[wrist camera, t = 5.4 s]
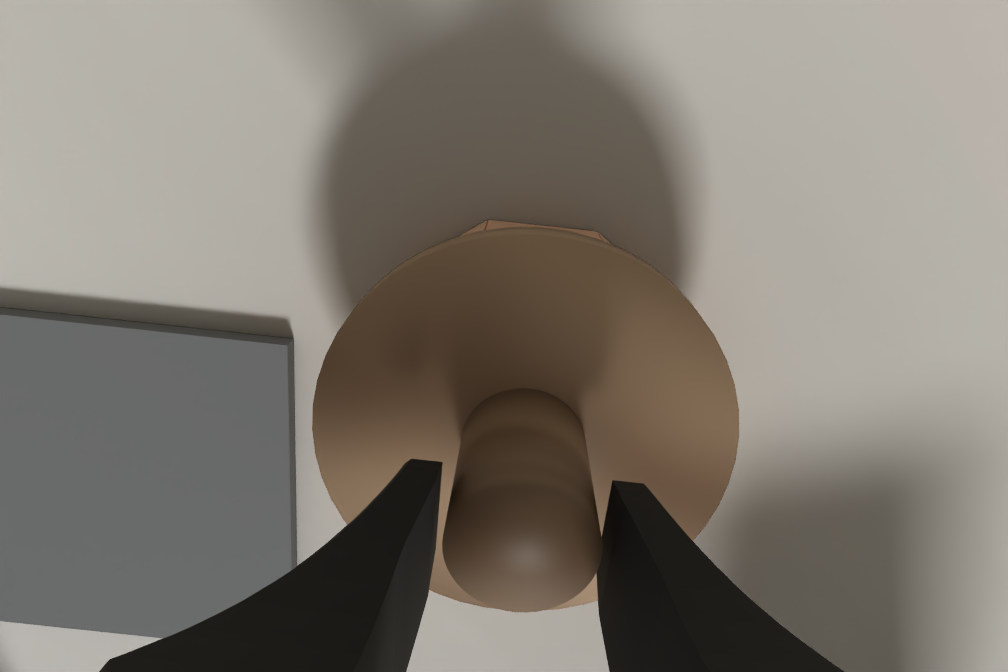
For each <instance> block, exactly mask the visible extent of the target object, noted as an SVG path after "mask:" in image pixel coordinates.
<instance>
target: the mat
mask: <svg viewBox="0 0 1008 672" xmlns="http://www.w3.org/2000/svg"><path fill="white" fill-rule="evenodd" d="M296 566H297V536H296V467H295V399H294V339H290V338H280V337H271V336H262V335H252V334H243V333H234V332H225V331H215V330H206V329H197V328H187V327H178V326H169V325H160V324H150V323H141V322H132V321H123V320H113V319H104V318H95V317H85V316H76V315H67V314H58V313H48V312H39V311H30V310H20V309H11V308H2V307H0V621H5V622H15V623H24V624H34V625H43V626H53V627H62V628H72V629H81V630H90V631H100V632H109V633H119V634H128V635H138V636H147V637H157V638H166V637H168V636H171V635H173V634H176V633H178V632H180V631H182V630H185V629H187V628H189V627H191V626H193V625H195V624H197V623H200V622H202V621H204V620H206V619H208V618H210V617H212V616H214V615H216V614H218V613H220V612H222V611H224V610H226V609H228V608H230V607H231V606H233V605H235V604H237V603H239V602H241V601H243V600H245V599H246V598H248V597H250V596H251V595H253V594H254V593H256V592H258V591H259V590H261V589H263V588H264V587H266V586H268V585H269V584H271V583H273V582H274V581H276V580H277V579H279V578H281V577H282V576H284V575H285V574H287V573H288V572H290V571H291V570H292V569H294V568H295V567H296Z"/></svg>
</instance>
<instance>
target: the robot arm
mask: <svg viewBox="0 0 1008 672" xmlns="http://www.w3.org/2000/svg"><path fill="white" fill-rule="evenodd" d="M442 464H443V462H439V461H429V460H420V459H410V460H409V461H407V462H406V463H405V464H404V465H403V466H402V468H401V469H400V470H399V471H398V473H397V474H396V475H395V476H394V477H393V479H392V480H391V481H390V482H389V483H388V484H387V485H386V487H385V488H384V489H383V490H382V491H381V492H380V493H379V494H378V495H377V496H376V497H375V498H374V499H373V500H372V501H371V502H370V503H369V505H368V506H367V507H366V508H365V509H364V510H363V511H362V512H361V513H360V514H359V515H358V516H357V517H356V518H354V519H353V520H352V521H351V522H350V523H349V524H348V525H347V526H346V527H344V528H343V529H342V530H341V531H340V532H339V533H338V534H337V535H335V536H334V537H333V538H332V539H331V540H330V541H329V542H328V543H326V544H325V545H324V546H323V547H321V548H320V549H319V550H318V551H316V552H315V553H314V554H313V555H311V556H310V557H309V558H307V559H306V560H305V561H303V562H302V563H301V564H299V565H298V566H296V567H295V568H294V569H292V570H291V571H290V572H288V573H287V574H285V575H284V576H282V577H281V578H279V579H277V580H276V581H274V582H273V583H271V584H269V585H268V586H266V587H264V588H263V589H261V590H259V591H258V592H256V593H254V594H253V595H251V596H250V597H248V598H246V599H245V600H243V601H241V602H239V603H237V604H235V605H233V606H231V607H230V608H228V609H226V610H224V611H222V612H220V613H218V614H216V615H214V616H212V617H210V618H208V619H206V620H204V621H202V622H200V623H197V624H195V625H193V626H191V627H189V628H187V629H185V630H182V631H180V632H178V633H176V634H173V635H171V636H168V637H166V638H163V639H161V640H158V641H156V642H153V643H151V644H148V645H146V646H143V647H141V648H138V649H136V650H133V651H131V652H128V653H126V654H123V655H121V656H118V657H115V658H112V659H110V660H109V661H108V662H107V663H106V664H105V665H104V667H103V668H102V669H101V670H100V671H99V672H406V670H407V667H408V663H409V660H410V657H411V653H412V650H413V646H414V643H415V639H416V636H417V632H418V629H419V625H420V622H421V618H422V615H423V611H424V608H425V604H426V601H427V597H428V592H429V586H430V580H431V574H432V568H433V562H434V556H435V550H436V540H437V527H438V514H439V502H440V489H441V476H442ZM602 546H603V547H602V558H601V562H600V565H599V568H598V570H597V573H596V574H597V592H598V606H599V617H600V622H601V628H602V633H603V639H604V644H605V650H606V655H607V660H608V665H609V671H610V672H844V671H843V670H841V669H840V668H838V667H837V666H835V665H834V664H832V663H831V662H830V661H828V660H827V659H825V658H824V657H823V656H821V655H820V654H818V653H817V652H816V651H814V650H813V649H812V648H810V647H809V646H807V645H806V644H805V643H803V642H802V641H801V640H799V639H798V638H797V637H795V636H794V635H793V634H791V633H790V632H789V631H788V630H786V629H785V628H784V627H783V626H781V625H780V624H779V623H778V622H777V621H775V620H774V619H773V618H772V617H771V616H769V615H768V614H767V613H766V612H765V611H764V610H762V609H761V608H760V607H759V606H758V605H756V604H755V603H754V602H753V601H752V600H751V599H750V598H749V597H747V596H746V595H745V594H744V593H743V592H742V591H741V590H740V589H739V588H738V587H737V586H736V585H735V584H734V583H733V582H732V581H731V580H730V579H729V578H728V577H727V576H726V575H725V574H724V573H722V572H721V571H720V570H719V569H718V568H717V567H716V566H715V565H714V563H713V562H712V561H711V560H710V559H709V558H708V557H707V556H706V555H705V554H704V553H703V552H702V551H701V550H700V549H699V547H698V546H697V545H696V544H695V543H694V542H693V541H692V540H691V539H690V537H689V536H688V535H687V534H686V533H685V532H684V531H683V529H682V528H681V527H680V526H679V525H678V524H677V522H676V521H675V520H674V519H673V518H672V516H671V515H670V514H669V513H668V512H667V510H666V509H665V508H664V507H663V506H662V504H661V503H660V502H659V501H658V500H657V498H656V497H655V496H654V495H653V493H652V492H651V491H650V490H649V489H648V488H647V486H646V485H645V484H644V483H635V482H626V481H616V480H612V485H611V490H610V495H609V500H608V506H607V511H606V516H605V521H604V527H603V532H602Z"/></svg>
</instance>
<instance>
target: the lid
mask: <svg viewBox="0 0 1008 672" xmlns="http://www.w3.org/2000/svg"><path fill="white" fill-rule="evenodd" d="M312 430H313V438H314V446H315V454H316V458H317V461H318V465H319V469H320V472H321V476H322V479H323V481H324V483H325V486H326V488H327V490H328V493H329V495H330V497H331V499H332V501H333V503H334V504H335V506H336V508H337V510H338V511H339V513H340V515H341V516H342V518H343V520H344V521H345V522H346V523H347V525H348V524H349V523H350V522H351V521H352V520H353V519H354V518H356V517H357V516H358V515H359V514H360V513H361V512H362V511H363V510H364V509H365V508H366V507H367V506H368V505H369V503H370V502H371V501H372V500H373V499H374V498H375V497H376V496H377V495H378V494H379V493H380V492H381V491H382V490H383V489H384V488H385V487H386V485H387V484H388V483H389V482H390V481H391V480H392V479H393V477H394V476H395V475H396V474H397V473H398V471H399V470H400V469H401V468H402V466H403V465H404V464H405V463H406V462H407V461H409V460H410V459H420V460H429V461H439V462H443V464H442V476H441V489H440V502H439V514H438V527H437V540H436V550H435V556H434V562H433V568H432V574H431V580H430V586H429V590H431V591H433V592H435V593H437V594H440V595H443V596H446V597H449V598H452V599H455V600H457V601H460V602H464V603H469V604H473V605H477V606H482V607H487V608H495V609H501V610H505V611H512V612H536V611H542V610H553V609H562V608H567V607H572V606H578V605H583V604H587V603H590V602H593V601H597V600H598V592H597V574H596V573H597V570H598V568H599V565H600V562H601V558H602V547H603V546H602V532H603V527H604V521H605V516H606V511H607V506H608V500H609V495H610V490H611V485H612V480H616V481H626V482H635V483H644V484H645V485H646V486H647V488H648V489H649V490H650V491H651V492H652V493H653V495H654V496H655V497H656V498H657V500H658V501H659V502H660V503H661V504H662V506H663V507H664V508H665V509H666V510H667V512H668V513H669V514H670V515H671V516H672V518H673V519H674V520H675V521H676V522H677V524H678V525H679V526H680V527H681V528H682V529H683V531H684V532H685V533H686V534H687V535H688V536H689V537H690V539H691V540H692V541H693V540H694V539H695V538H696V537H697V535H698V534H699V533H700V532H701V531H702V529H703V528H704V527H705V526H706V524H707V523H708V521H709V519H710V518H711V516H712V515H713V513H714V512H715V510H716V508H717V507H718V505H719V503H720V501H721V499H722V497H723V494H724V492H725V490H726V488H727V486H728V483H729V480H730V477H731V473H732V470H733V467H734V463H735V460H736V453H737V446H738V439H739V408H738V402H737V396H736V390H735V384H734V381H733V378H732V375H731V372H730V369H729V366H728V363H727V360H726V358H725V356H724V354H723V352H722V350H721V348H720V346H719V344H718V342H717V340H716V338H715V336H714V334H713V333H712V332H711V330H710V329H709V327H708V326H707V324H706V323H705V322H704V320H703V319H702V317H701V316H700V315H699V313H698V312H697V310H696V309H695V308H694V307H693V305H692V304H691V303H690V301H689V300H688V299H687V298H686V297H685V296H684V295H683V294H682V293H681V292H680V291H679V290H678V289H677V288H676V287H675V285H674V284H673V283H672V282H671V281H669V280H668V279H667V278H666V277H664V276H663V275H662V274H661V273H659V272H658V271H657V270H656V269H654V268H653V267H652V266H650V265H649V264H648V263H646V262H644V261H642V260H641V259H639V258H637V257H636V256H634V255H632V254H631V253H629V252H627V251H626V250H624V249H621V248H619V247H616V246H614V245H612V244H609V243H607V242H605V241H602V240H600V239H597V238H593V237H590V236H586V235H582V234H579V233H575V232H571V231H566V230H558V229H551V228H544V227H506V228H498V229H490V230H482V231H478V232H474V233H470V234H467V235H463V236H459V237H455V238H452V239H449V240H447V241H445V242H442V243H440V244H437V245H435V246H432V247H430V248H428V249H426V250H424V251H422V252H420V253H419V254H417V255H415V256H414V257H412V258H410V259H408V260H407V261H405V262H403V263H402V264H400V265H399V266H398V267H397V268H395V269H394V270H393V271H391V272H390V273H389V274H388V275H386V276H385V277H384V278H382V279H381V280H380V281H379V282H378V283H377V284H376V285H375V286H374V287H373V288H372V289H371V290H370V292H369V293H368V294H367V295H366V296H365V297H364V298H363V299H362V300H361V301H360V303H359V304H358V305H357V306H356V308H355V309H354V310H353V312H352V313H351V314H350V316H349V317H348V319H347V320H346V321H345V323H344V324H343V325H342V327H341V328H340V330H339V331H338V332H337V334H336V336H335V338H334V340H333V342H332V344H331V346H330V348H329V350H328V352H327V354H326V356H325V359H324V362H323V365H322V368H321V371H320V374H319V377H318V380H317V385H316V391H315V396H314V402H313V426H312Z"/></svg>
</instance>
